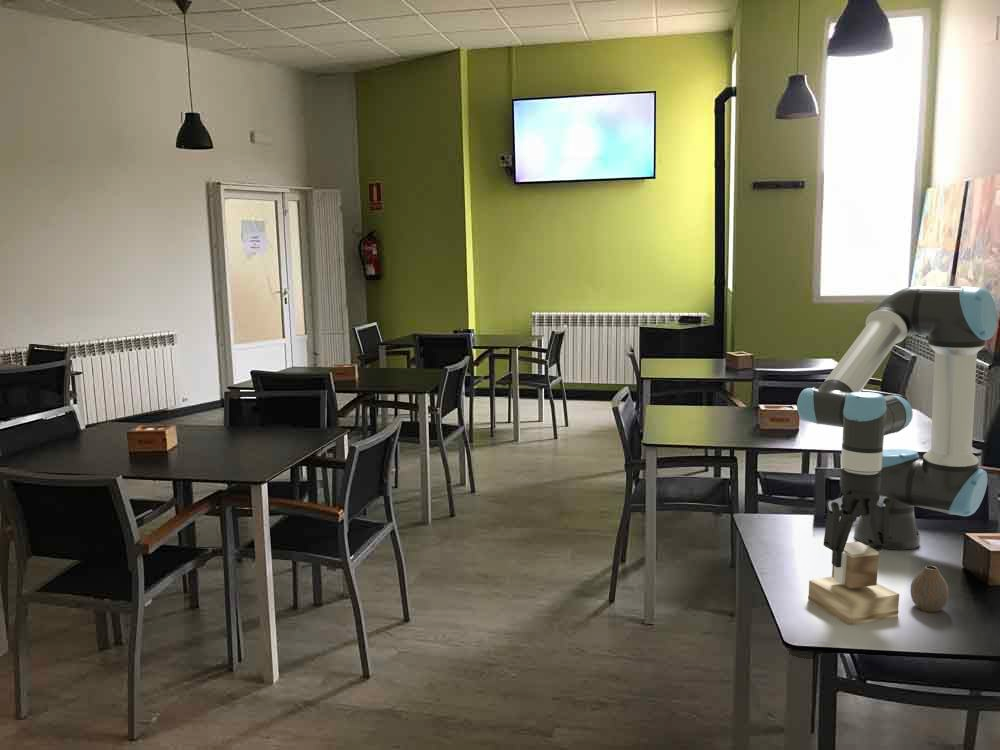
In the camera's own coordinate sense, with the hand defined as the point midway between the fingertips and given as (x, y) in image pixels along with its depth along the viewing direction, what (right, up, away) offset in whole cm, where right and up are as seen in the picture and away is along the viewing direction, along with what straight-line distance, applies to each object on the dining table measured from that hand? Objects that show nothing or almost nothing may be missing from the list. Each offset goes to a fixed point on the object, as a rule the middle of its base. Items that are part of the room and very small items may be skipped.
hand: (853, 579), depth 170 cm
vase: (+16, -6, +1) cm, 17 cm away
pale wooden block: (0, 0, 0) cm, 0 cm away
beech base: (0, -6, +1) cm, 7 cm away
